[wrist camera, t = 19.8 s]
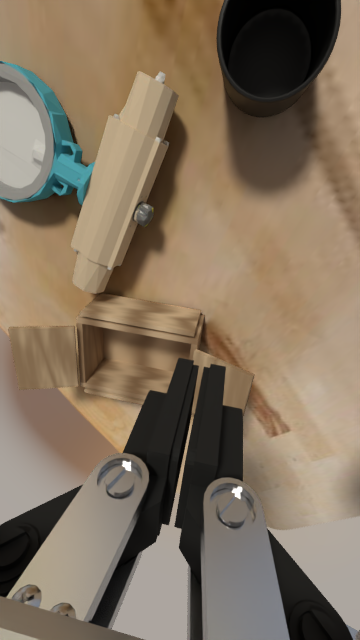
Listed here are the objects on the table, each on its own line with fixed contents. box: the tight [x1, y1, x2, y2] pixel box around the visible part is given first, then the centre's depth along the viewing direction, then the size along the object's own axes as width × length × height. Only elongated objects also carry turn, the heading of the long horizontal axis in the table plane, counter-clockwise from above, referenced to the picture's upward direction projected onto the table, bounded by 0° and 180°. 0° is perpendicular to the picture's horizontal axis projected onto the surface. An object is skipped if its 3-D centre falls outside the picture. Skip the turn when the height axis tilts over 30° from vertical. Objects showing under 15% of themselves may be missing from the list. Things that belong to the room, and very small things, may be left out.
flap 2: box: [192, 349, 255, 416], centre depth 40 cm, size 1×10×8 cm
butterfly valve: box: [0, 61, 178, 294], centre depth 38 cm, size 27×7×30 cm
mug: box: [217, 0, 341, 117], centre depth 28 cm, size 9×12×9 cm
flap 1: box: [8, 326, 78, 390], centre depth 42 cm, size 1×10×8 cm
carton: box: [76, 293, 205, 405], centre depth 47 cm, size 17×14×8 cm
